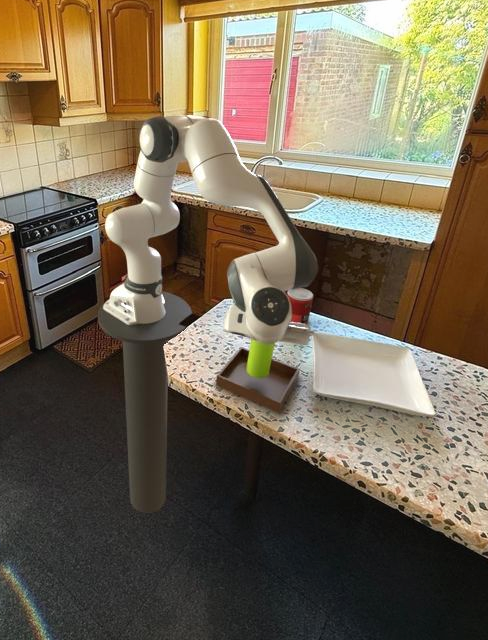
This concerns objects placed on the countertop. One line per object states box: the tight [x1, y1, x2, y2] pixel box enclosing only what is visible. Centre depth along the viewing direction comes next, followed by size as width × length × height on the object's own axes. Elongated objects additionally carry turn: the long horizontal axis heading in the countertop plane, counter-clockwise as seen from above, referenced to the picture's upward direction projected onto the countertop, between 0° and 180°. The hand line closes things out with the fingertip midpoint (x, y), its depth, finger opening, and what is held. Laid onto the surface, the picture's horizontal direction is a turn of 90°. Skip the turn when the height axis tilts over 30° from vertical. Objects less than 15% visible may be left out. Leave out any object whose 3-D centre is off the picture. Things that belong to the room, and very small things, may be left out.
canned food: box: [286, 287, 314, 325], centre depth 131 cm, size 8×8×11 cm
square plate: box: [310, 331, 437, 418], centre depth 108 cm, size 27×27×4 cm
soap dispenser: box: [246, 339, 276, 378], centre depth 101 cm, size 6×7×20 cm
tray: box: [215, 346, 301, 414], centre depth 107 cm, size 17×15×3 cm
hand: (264, 335), depth 101 cm, fingers closed on soap dispenser, 6 cm apart
